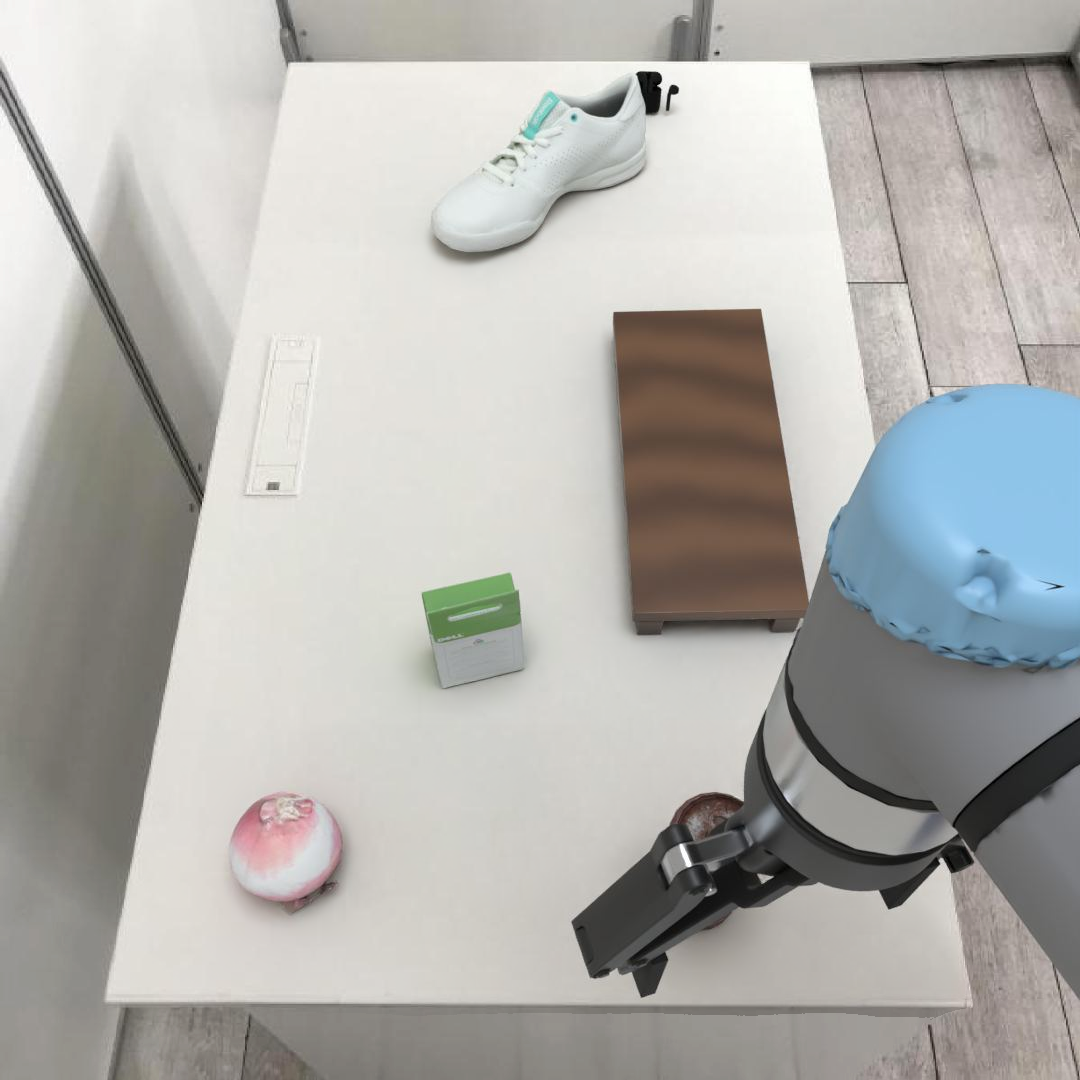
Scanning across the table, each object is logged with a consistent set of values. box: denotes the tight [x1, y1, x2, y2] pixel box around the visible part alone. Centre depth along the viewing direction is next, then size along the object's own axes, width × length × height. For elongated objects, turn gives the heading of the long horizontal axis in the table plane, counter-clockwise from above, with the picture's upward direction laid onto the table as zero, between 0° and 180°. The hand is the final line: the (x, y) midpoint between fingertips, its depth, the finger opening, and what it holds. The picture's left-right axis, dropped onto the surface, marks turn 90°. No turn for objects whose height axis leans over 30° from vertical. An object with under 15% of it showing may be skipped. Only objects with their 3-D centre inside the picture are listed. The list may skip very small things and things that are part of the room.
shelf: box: [612, 308, 810, 636], centre depth 94 cm, size 32×14×4 cm, turn 1°
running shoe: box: [430, 72, 647, 253], centre depth 110 cm, size 10×27×12 cm, turn 128°
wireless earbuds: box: [635, 70, 680, 114], centre depth 120 cm, size 7×2×5 cm, turn 87°
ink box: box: [421, 571, 526, 689], centre depth 81 cm, size 7×4×13 cm, turn 104°
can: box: [668, 791, 744, 932], centre depth 71 cm, size 6×6×14 cm
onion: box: [228, 791, 343, 915], centre depth 76 cm, size 8×8×7 cm
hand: (762, 924), depth 54 cm, fingers open, 13 cm apart
